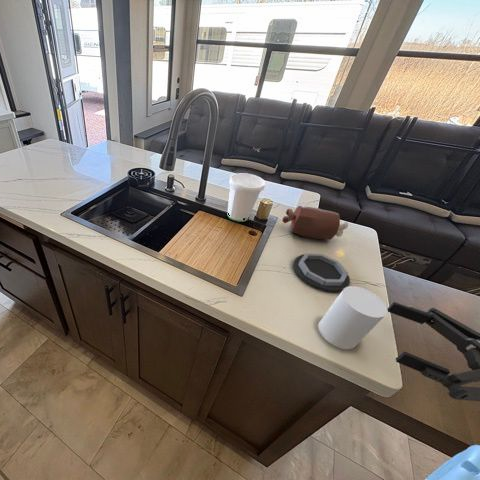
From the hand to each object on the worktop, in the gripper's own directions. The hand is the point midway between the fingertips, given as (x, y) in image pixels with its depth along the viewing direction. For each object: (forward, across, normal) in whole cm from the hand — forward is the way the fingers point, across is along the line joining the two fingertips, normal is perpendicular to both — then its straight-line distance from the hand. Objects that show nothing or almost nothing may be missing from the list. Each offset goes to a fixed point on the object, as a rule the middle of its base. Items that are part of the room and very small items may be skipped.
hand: (394, 329), depth 53 cm
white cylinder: (+8, 0, -8) cm, 11 cm away
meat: (+17, +40, -8) cm, 45 cm away
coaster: (+12, +20, -8) cm, 25 cm away
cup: (+43, +38, -8) cm, 58 cm away
